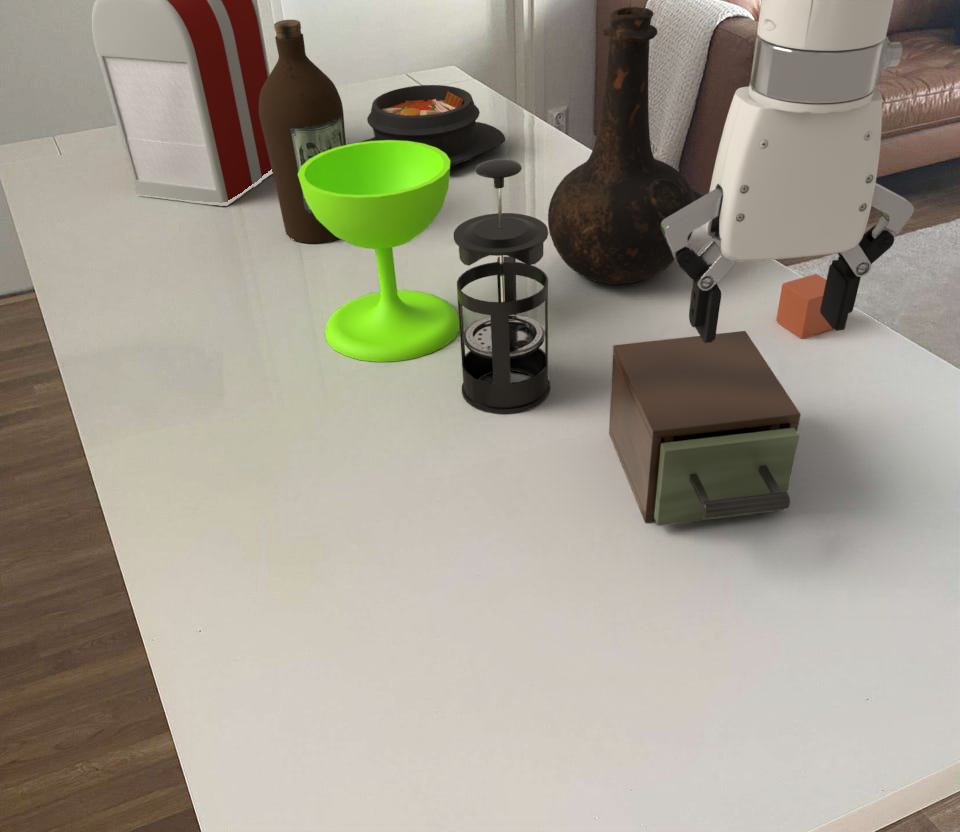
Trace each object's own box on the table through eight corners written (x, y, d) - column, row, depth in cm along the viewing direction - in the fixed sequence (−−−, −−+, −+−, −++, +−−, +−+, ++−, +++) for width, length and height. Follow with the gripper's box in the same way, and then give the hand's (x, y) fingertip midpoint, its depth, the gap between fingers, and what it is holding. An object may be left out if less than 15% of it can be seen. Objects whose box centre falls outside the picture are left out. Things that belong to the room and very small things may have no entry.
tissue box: (133, 196, 151) (73, -15, 132) (199, 154, 162) (152, -46, 143) (227, 207, 146) (178, -9, 127) (288, 163, 157) (252, -42, 138)
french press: (548, 417, 103) (548, 186, 86) (456, 417, 103) (439, 187, 87) (552, 359, 111) (553, 137, 95) (467, 359, 112) (453, 140, 96)
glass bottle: (612, 316, 117) (625, 45, 97) (518, 265, 128) (513, 12, 108) (721, 270, 124) (754, 9, 104) (623, 226, 135) (637, -19, 115)
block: (808, 312, 116) (816, 273, 112) (834, 329, 113) (843, 289, 109) (775, 321, 114) (782, 283, 111) (801, 339, 111) (808, 299, 108)
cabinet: (782, 506, 91) (801, 413, 84) (645, 523, 90) (652, 431, 83) (732, 418, 101) (745, 330, 94) (608, 433, 100) (613, 345, 93)
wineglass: (482, 341, 114) (474, 178, 102) (348, 374, 111) (322, 209, 98) (432, 284, 125) (419, 130, 112) (308, 313, 121) (280, 157, 109)
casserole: (478, 126, 165) (476, 69, 159) (525, 163, 153) (524, 103, 147) (332, 154, 159) (324, 96, 153) (368, 194, 147) (360, 133, 141)
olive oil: (268, 228, 140) (228, 23, 122) (334, 207, 144) (305, 6, 126) (304, 253, 133) (267, 40, 116) (372, 231, 137) (347, 22, 120)
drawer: (805, 548, 85) (823, 472, 79) (673, 564, 84) (682, 489, 79) (736, 427, 98) (747, 354, 93) (621, 440, 98) (626, 368, 92)
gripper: (923, 42, 65) (861, 295, 77) (661, 62, 64) (640, 315, 76) (978, 76, 60) (903, 342, 72) (693, 98, 59) (665, 364, 71)
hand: (767, 328), depth 74 cm, fingers open, 9 cm apart
